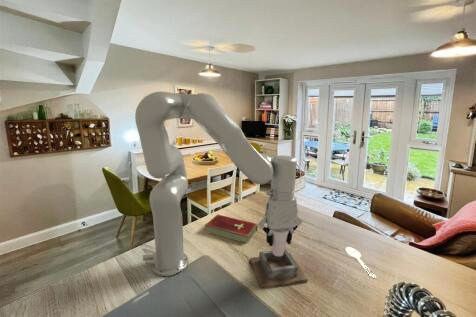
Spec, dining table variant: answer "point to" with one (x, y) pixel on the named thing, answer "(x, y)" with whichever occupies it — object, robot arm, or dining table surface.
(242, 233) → the hardcover book
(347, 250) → the spoon
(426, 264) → the dining table surface
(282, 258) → the holder
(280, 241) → the smoothie
